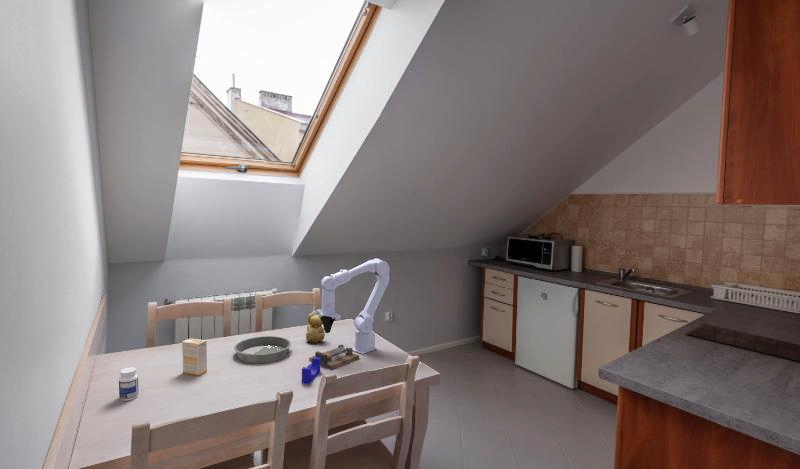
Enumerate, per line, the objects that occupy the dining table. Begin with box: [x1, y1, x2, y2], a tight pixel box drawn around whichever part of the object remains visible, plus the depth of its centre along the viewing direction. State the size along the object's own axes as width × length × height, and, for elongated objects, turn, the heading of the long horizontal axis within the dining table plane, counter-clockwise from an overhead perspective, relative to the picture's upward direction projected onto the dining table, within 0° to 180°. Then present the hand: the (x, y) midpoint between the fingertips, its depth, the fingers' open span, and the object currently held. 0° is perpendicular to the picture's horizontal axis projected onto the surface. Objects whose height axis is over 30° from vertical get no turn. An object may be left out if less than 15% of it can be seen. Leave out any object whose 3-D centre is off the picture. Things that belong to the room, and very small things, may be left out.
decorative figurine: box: [305, 310, 326, 344], centre depth 209 cm, size 10×8×15 cm
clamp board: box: [308, 344, 360, 370], centre depth 187 cm, size 17×14×5 cm
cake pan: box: [233, 335, 292, 364], centre depth 192 cm, size 25×25×4 cm
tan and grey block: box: [322, 345, 349, 359], centre depth 187 cm, size 14×4×1 cm, turn 142°
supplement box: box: [181, 337, 208, 377], centre depth 169 cm, size 8×5×13 cm, turn 71°
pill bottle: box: [118, 366, 140, 402], centre depth 147 cm, size 6×6×10 cm
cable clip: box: [301, 356, 321, 385], centre depth 169 cm, size 12×4×6 cm, turn 170°
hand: (327, 332), depth 192 cm, fingers closed
